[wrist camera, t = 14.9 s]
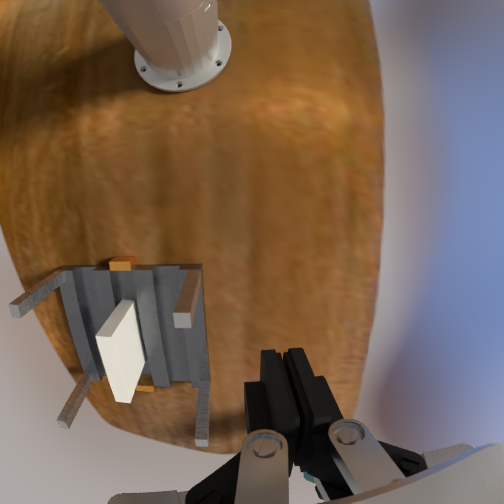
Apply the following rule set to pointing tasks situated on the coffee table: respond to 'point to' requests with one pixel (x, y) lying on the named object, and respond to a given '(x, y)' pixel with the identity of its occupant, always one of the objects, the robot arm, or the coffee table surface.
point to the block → (122, 350)
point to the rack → (150, 321)
